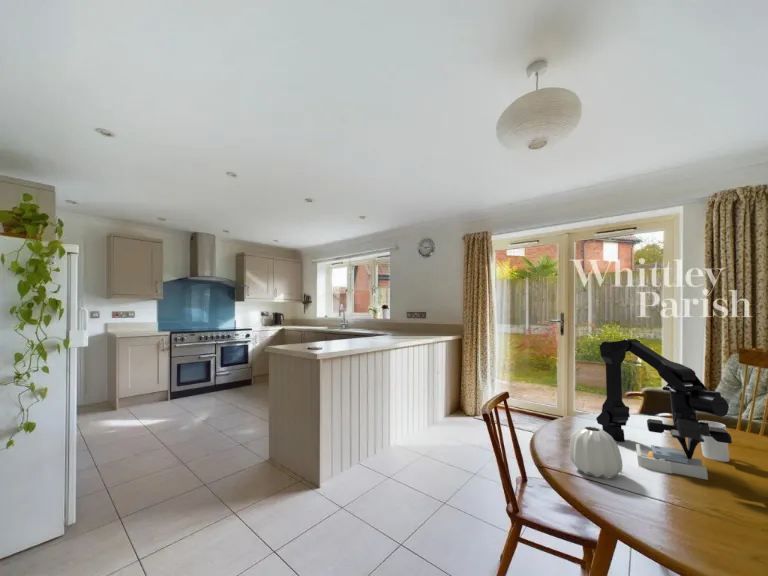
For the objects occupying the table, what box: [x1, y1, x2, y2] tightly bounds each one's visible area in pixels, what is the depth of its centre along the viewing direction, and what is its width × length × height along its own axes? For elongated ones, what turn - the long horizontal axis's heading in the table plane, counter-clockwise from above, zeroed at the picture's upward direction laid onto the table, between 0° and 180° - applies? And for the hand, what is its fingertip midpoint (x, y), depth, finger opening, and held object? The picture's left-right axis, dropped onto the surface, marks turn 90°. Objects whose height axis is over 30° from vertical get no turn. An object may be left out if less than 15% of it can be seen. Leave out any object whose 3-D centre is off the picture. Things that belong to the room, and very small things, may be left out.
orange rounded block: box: [648, 450, 659, 459], centre depth 103 cm, size 3×8×3 cm, turn 142°
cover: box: [650, 444, 688, 464], centre depth 100 cm, size 8×8×2 cm
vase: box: [569, 425, 623, 479], centre depth 100 cm, size 14×14×13 cm
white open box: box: [635, 443, 709, 480], centre depth 103 cm, size 16×18×4 cm
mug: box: [698, 420, 730, 463], centre depth 108 cm, size 10×7×12 cm, turn 127°
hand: (689, 458), depth 98 cm, fingers closed
